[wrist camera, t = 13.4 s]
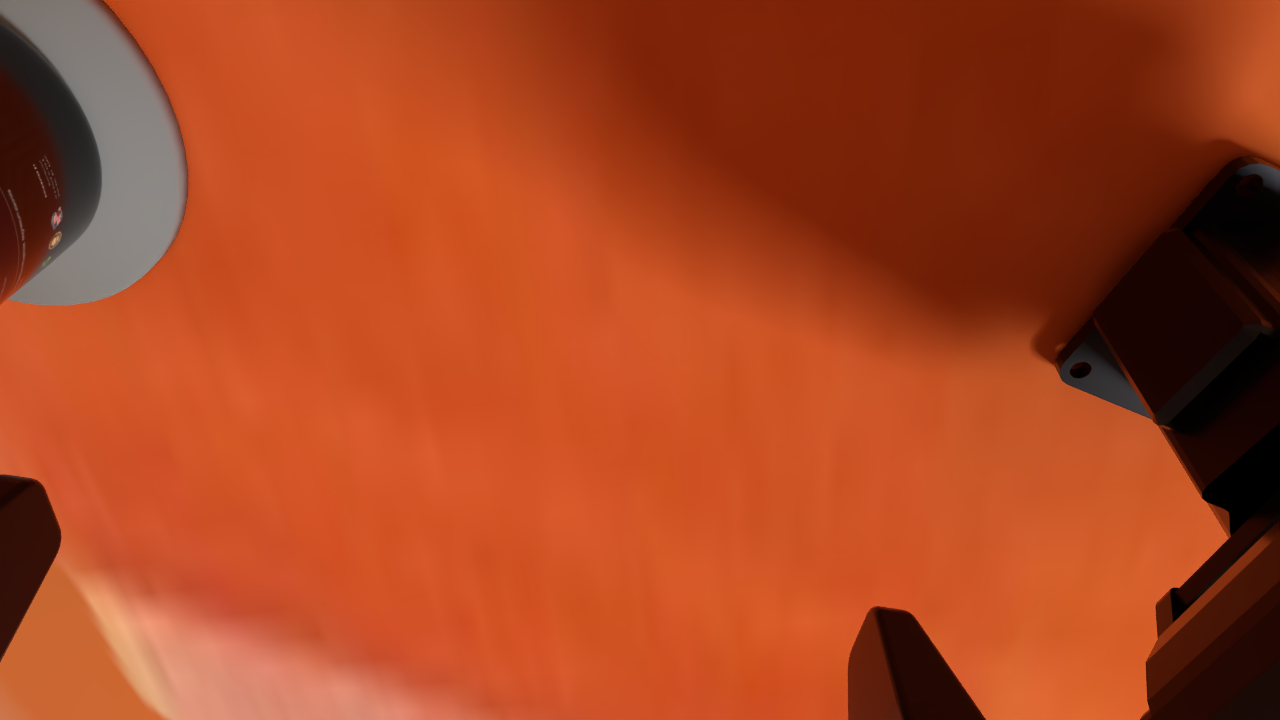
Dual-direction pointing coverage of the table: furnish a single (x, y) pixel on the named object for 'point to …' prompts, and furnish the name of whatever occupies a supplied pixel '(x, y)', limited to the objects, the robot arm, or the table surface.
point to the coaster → (109, 149)
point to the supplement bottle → (40, 164)
